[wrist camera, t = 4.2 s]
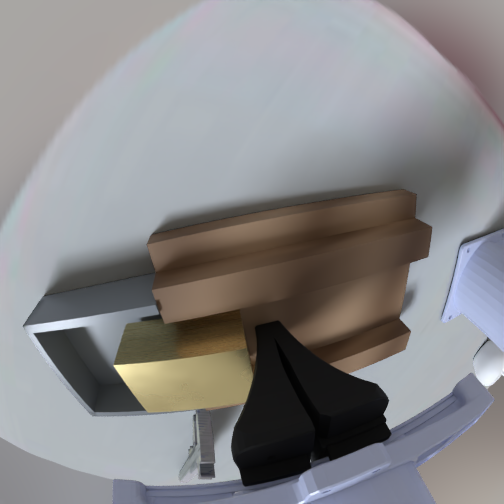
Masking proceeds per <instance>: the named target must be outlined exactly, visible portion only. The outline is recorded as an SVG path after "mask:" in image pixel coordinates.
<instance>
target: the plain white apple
mask: <svg viewBox="0 0 504 504" xmlns="http://www.w3.org/2000/svg"><path fill="white" fill-rule="evenodd" d="M473 365H474V369H475V373H476V377H477V379H478V380H479V381H480V382H481V384H483V385H485V386H489V385H492V384H494V383H495V382H496V381H497V380H498V379H499V378H500V376H501V375H503V376H504V352H503V351H502V350H501V349H500V348H499V347H498V346H497V345H496V344H495V343H494V342H493V341H492V340H490V341H487V342H486V343H485V344H484V345H483V346H482V347H481V348H480V350H479V351H478V353H477V354H476V355H475V357H474V360H473Z"/></svg>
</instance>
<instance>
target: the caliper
mask: <svg viewBox="0 0 504 504" xmlns="http://www.w3.org/2000/svg"><path fill="white" fill-rule="evenodd" d="M214 463H215V453H214V441H213V432H212V425H211V417H210V410H208V411H206V409H205V408H204V409H198V410H196V415H194V416H193V446H190V449H189V458H188V460H187V461H186V463H185V465H184V466H183V468H182V469H181V471H180V473H179V480H180V482H184V483H187V482H189V481H190V480H191V479H192V478H193V477H194V476H196V475H198V479H212V478H215V472H214Z"/></svg>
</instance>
